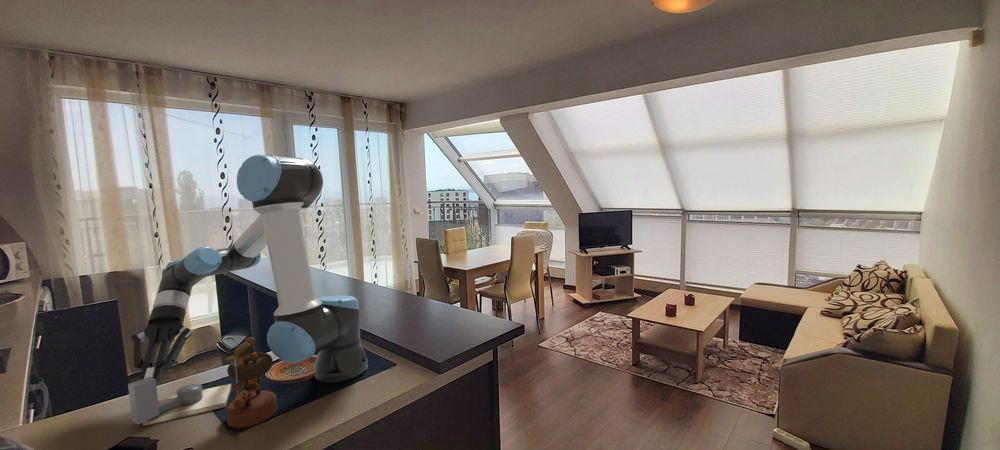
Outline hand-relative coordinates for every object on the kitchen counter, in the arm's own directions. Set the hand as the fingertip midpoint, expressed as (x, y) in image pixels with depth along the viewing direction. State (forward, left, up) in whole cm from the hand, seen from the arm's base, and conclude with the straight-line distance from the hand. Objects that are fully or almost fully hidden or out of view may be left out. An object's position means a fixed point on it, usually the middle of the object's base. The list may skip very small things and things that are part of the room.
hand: (145, 395), depth 94 cm
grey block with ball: (-4, -4, -4) cm, 7 cm away
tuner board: (-3, -8, -5) cm, 10 cm away
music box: (-20, -17, -5) cm, 27 cm away
